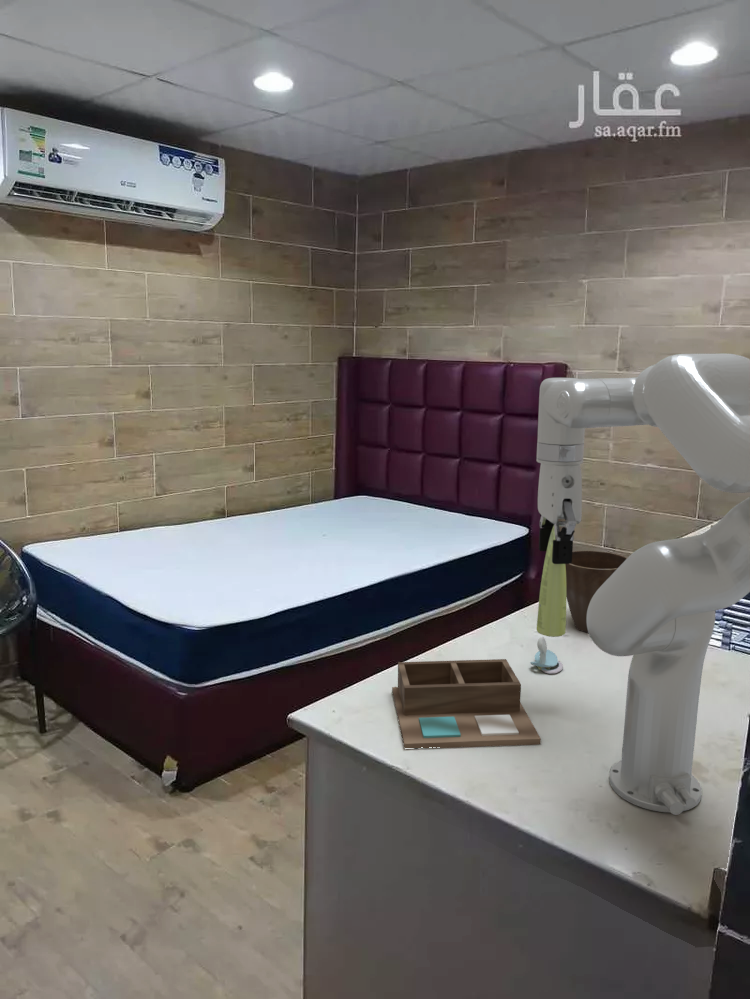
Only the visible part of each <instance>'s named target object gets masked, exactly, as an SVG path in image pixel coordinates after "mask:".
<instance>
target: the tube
mask: <svg viewBox="0 0 750 999" xmlns="http://www.w3.org/2000/svg"><path fill="white" fill-rule="evenodd" d="M553 540H555V531H554V526H553V528H552V531H551V535H550V538H549V542H548V547H547V551H545V557H544V562H543V567H542V568H543V569H542V574H541V579H540V581H541V582H540V588H539V598H538V608H537V609H538V610H537V618H536V619H537V620H536V632H537V633H538V634H540V635H542V636H545V637H551V638H554V637H555V638H559V637H562V636H564V635H565V634H566V627H567V626H566V625H567V597H566V566H565V564H554V563H553V562H552V550H553Z"/></svg>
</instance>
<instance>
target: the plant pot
mask: <svg viewBox="0 0 750 999" xmlns="http://www.w3.org/2000/svg"><path fill="white" fill-rule="evenodd" d="M627 558H628V557H625V556H623V555H620V554H617V553H612V552H607V551H599V550H576V551H575V550H574V551H572V563H571V564H565V566H566V602H567V604H568V608H569V609H568V610H569V612H570V615H571V619H572V621H573V624H574V626H575V628H576V629H577V630H579V631H581V632H585V633H588V629H587V620H586V619H587V610H588V606H589V603H590V601H591V599H592V597H593V595H594V594H595V593H596V591H597V590H598V589H599V588H600V587H601V585H602V584H603V583H604V582H605V581H606V580H607V579H608V578H609V577H610V576H611V575H612V574H613V573H614V572H615V571H616V570H617V569H618V567H619V566H620V565H621V564H622V563H623V562H624V561H625V560H626V559H627Z"/></svg>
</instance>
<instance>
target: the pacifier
mask: <svg viewBox="0 0 750 999" xmlns="http://www.w3.org/2000/svg"><path fill="white" fill-rule="evenodd" d="M536 645H537V649H538V651H537V652H536V653H535V655H534V661H531V662H529V663H530V665H533V666H535V667H537V669H538V670H539V671H541V672H543V673H545V674H548V675H549V674H550V675H553V674H554V675H555V674H558V673H560V672H561V671H562V670H563V669H564V665H563V663H562V662H561V661H559V660H558V656H557V655H556V653H554V651H552V650H550V649H548V647H547V646H548V645H547V641H546V638H545V637H543V636H541V637H540V638H539V639H538V640H537V644H536ZM556 666H557V668H554V667H556ZM551 668H554V669H551Z"/></svg>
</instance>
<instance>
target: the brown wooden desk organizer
mask: <svg viewBox="0 0 750 999" xmlns="http://www.w3.org/2000/svg"><path fill="white" fill-rule="evenodd" d="M391 689H392V690H391V691H392V692H391V693H393V694H392V698H393V701H394V702H395V703H394V707H396V708H395V712H396V711H397V712H396V715H397V716H398V717H397V716H396V717H397V721H398V720H399V721H398V726H399V725H400V726H399V730H401V731H400V735H401V734H402V735H401V739H402V738H403V740H402V743H404V745H403V748H404V747H405V748H421V747H423V748H429V747H432V749H434V748H433V747H436V748H435V749H438V748H437V747H440V748H439V749H453V748H454V749H457V748H476V747H477V748H478V747H479V748H480V747H483V748H484V747H509V746H531V745H532V746H533V745H538V746H539V745H542V744H541V743H542V738H541V736H540V735H539V732H538V731H537V729H536V728H535V726H534V724H533V722H532V720H531V718H530V717H529V715H528V713H527V711H526V710H525V708H524V706H523V703H522V702H521V697H522V696H521V694H522V693H521V692H522V684H521V682H520V681H519V679H518V677H517V675H516V673H515V671H514V670H513V668H512V667H511V664H509V662H508V659H506V658H499V659H498V658H496V659H470V660H469V659H465V660H464V659H462V660H433V661H431V660H430V661H428V660H427V661H425V660H424V661H423V660H422V661H398V662H397V686H392V687H391Z"/></svg>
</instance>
